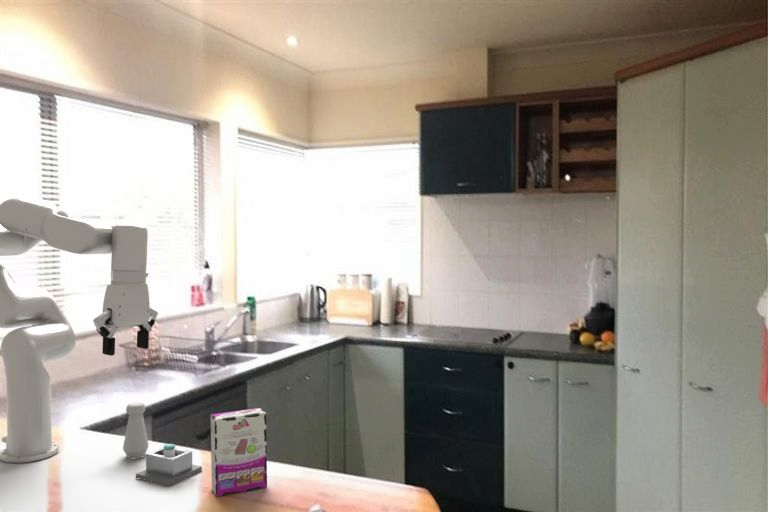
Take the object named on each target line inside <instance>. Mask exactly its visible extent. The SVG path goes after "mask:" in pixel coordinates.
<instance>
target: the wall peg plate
mask: <svg viewBox="0 0 768 512" xmlns="http://www.w3.org/2000/svg"><path fill="white" fill-rule="evenodd" d="M163 447H164V456H168V457H175V448H176V444H173V443H169V444H164V445H163ZM202 471H203V467H202V466H200V465H196V464H193V463H192V469H190V470H188V471H186V472H184V473H182V474H180V475H178V476H176V477H173V478H172V477H168V476H163V475H159V474H155V473H150V472H146V469H143V470H141V471H139V472H136V473H135V478H136V479H137V478H140V479H139V480H141V479H145V480H144V481H146V480H149V481H148V482H150V481H152V482H151V483H154V482H155V483H154V484H158V483H159V484H158V485H162V484H163V486H166V487H171V486H173V485H175V484H177V483H180V482H181V481H184V480H185V479H188V478H190V477H192V476H194V475H196V474H198V473H200V472H202Z"/></svg>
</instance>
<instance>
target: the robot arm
mask: <svg viewBox="0 0 768 512" xmlns="http://www.w3.org/2000/svg"><path fill="white" fill-rule="evenodd" d="M148 233H149V232H148V228H147V226H145V225H144V224H143V225H142V224H135V223H120V222H114V221H101V220H100V221H99V220H79V219H74V218H71V217H70V218H69V215H68V213H67V212H66V211H65V210H64V209H62V208H61V207H57V206H56V205H55V204H54V203H52V202H51V201H48V200H44V199H36V198H35V199H33V198H18V197H17V198H9V199H6V200H5V201H3V202H1V203H0V257H4V256H5V257H6V256H11V257H12V256H18V255H22V254H25V253H27V252H28V251H29V250H31V249H32V248H34V247H35V246H37V244H39V243H40V242H42V241H44V242H45V243H46V244H47V245H48V246H49V247H51V248H54V249H57V250H60V251H65V252H69V253H72V254H77V255H92V254H93V255H99V254H100V255H105V254H106V255H107V254H109V255H110V254H111V261H110V265H111V267H110V283H107V286H106V287H105V288H106V289H105V293H104V296H103V303H102V304H103V305H102V311H101V312H102V313H101V314H99V315H98V316H96V317H95V318H93V325H94V326H95V328H96V329H95V330H96V332H98V334H99V336H100V337H101V338H102V348H101V349H102V354H103V355H107V356H114V355H115V354H116V350H115V349H116V338H115V337H114V336H115V334H116V333H117V331H118V330H119V329H126V328H133V327H134V328H135V327H137V328H138V330H137V333H136V347H137V348H138V349H144V350H148V349H149V341H150V339H149V338H150V332H151V331H152V328H153V326H154V325H155V323H156V321H155V320H156V319H157V316H158V315H159V313H158V311H156V310H154V309H153V308H152V307H150V293H149V287H148V283H147V278H148V277H149V272H147V266H148V265H147V263H148V262H147V261H148V259H147V257H148V239H149V238H148V236H149V235H148ZM0 328H1V329H11V328H12V329H13V328H15V329H13V330H10V331H9V332H8V333H7V334H5V336H4V337H3V339H2V340H1V344H0V351H1V358H2V361H3V367H4V371H5V381H6V382H5V383H6V384H5V387H6V425H7V426H6V432H7V433H6V434H7V435H6V436H3V437H2V438H1V442H2V443H5V448H4V449H3V450H2V451H1V452H0V460H1V461H3V462H5V463H14V464H18V463H29V462H30V463H31V462H36V461H40V460H43V459H44V460H45V459H46V458H49V457H52V456H54V455H56V454H57V453H58V451H59V449H60V447H59V444H58V443H57V442H53V441H52V438H53V437H52V435H53V434H52V428H53V427H52V380H51V377H50V374H49V373H48V371H47V369H46V368H45V365H44V363H47V362H50V361H56V360H59V359H62V358H66V357H68V356H69V355H71V353H72V352H73V351H74V349H75V346H76V340H77V339H76V334H75V333H74V330H73V328H72V325H71V324H70V322H69V320H68V319H67V316H65V314H64V312H63V310H62V308H61V306H60V305H59V303H58V302H57V300H56V299H55V297H54V296H53V295H52V294H51V293H50V292H48V290H46V289H45V288H41V287H27V288H22V287H19V286H18V285H17V284H16V282H15V281H14V279H13V277H12V275H11V274H10V272H9V270H8V269H6V268H5V267H4V266H3V265H2V264H0Z"/></svg>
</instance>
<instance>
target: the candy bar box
mask: <svg viewBox="0 0 768 512" xmlns="http://www.w3.org/2000/svg"><path fill="white" fill-rule="evenodd" d="M210 448H211V449H210V454H211V455H210V457H211V461H210V462H211V467H210V468H211V489H212V492H213V491H214V492H213V493H214V495H215V497H217V496H218V497H223V496H228V495H233V494H239V493H244V492H249V491H253V490H260V489H263V488H267V487H268V462H267V460H268V459H267V457H268V453H267V450H268V449H267V412H265V410H263V409H262V408H261V407H257V408H249V409H242V410H234V411H227V412H220V413H219V412H218V413H213V414H210Z"/></svg>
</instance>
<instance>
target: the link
mask: <svg viewBox="0 0 768 512" xmlns="http://www.w3.org/2000/svg"><path fill="white" fill-rule="evenodd" d="M192 464H193V450H187V449H183V448H179V447H175V457H168V456H164V446H163V447H159V448H157V449H155V450H152V451H149V452H148V453H147V452H146V454H145V470H146V472H150V473H155V474H159V475H163V476H168V477H172V478H173V477H176V476H178V475H180V474H182V473H184V472H186V471H188V470H190V469H192Z"/></svg>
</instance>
